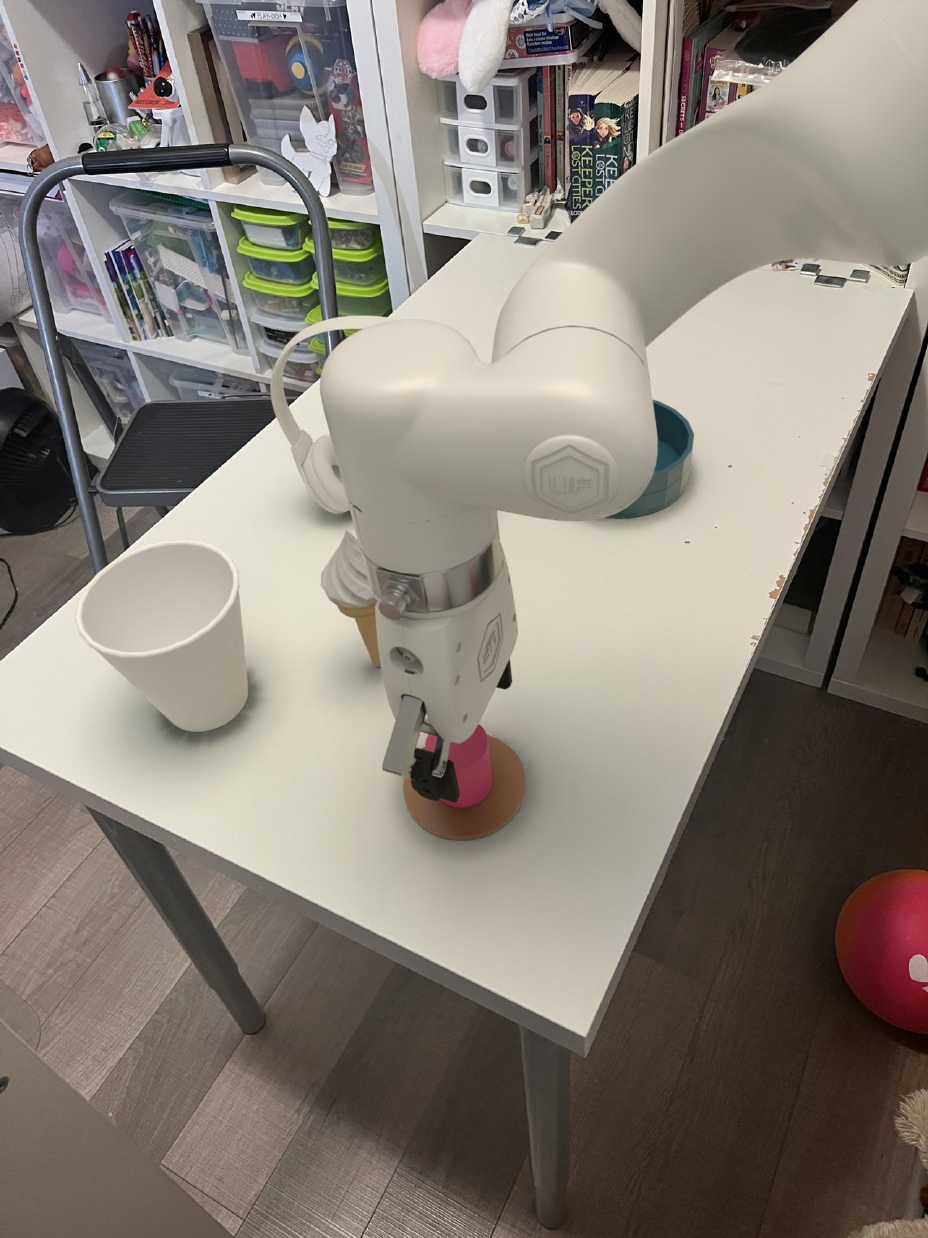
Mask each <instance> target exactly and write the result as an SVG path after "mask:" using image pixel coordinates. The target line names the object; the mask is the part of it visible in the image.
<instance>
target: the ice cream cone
mask: <svg viewBox="0 0 928 1238" xmlns="http://www.w3.org/2000/svg"><path fill="white" fill-rule="evenodd" d="M320 587H321V588H322V590H323V592H324V593H325V595H326V597H327V598H328V600H329V601H330V602H331V603H333V604H334V605H336V607H337V609H338V610H339V612H340V613H341V614H343V616H346V617H348V618H352V619H354V621H355V622H356V626H357V629H358V632H359V633H360V637H361V638H362V640H363V643H364V645H365V648H366V651H367V652H368V655H369V658H370V660H371V663H372V664H373V666H374V667H376V668H377V667H381V664H380V658H379V650H378V642H377V631H376V615H375V606H376V602H377V600H376V599H375V597H374V596H373V594H372V592H371V589H370V586H369V582H368V578H367V574H366V570H365V567H364V563H363V559H362V555H361V551H360V547H359V544H358V539H357V537H355V536H354V535H353V534H352V533H351V532H349V530H347V529H346V530H345V532H344V534H343V538H342V540H341V541H340V544H339V546H338V547H337V548H336V550H335V551H334V553H333V554H332V556H331V558H330V559H329V560H328V562H327V563H326V565H325V566H324V568H323V569H322V571H321V576H320Z"/></svg>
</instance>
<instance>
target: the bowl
mask: <svg viewBox="0 0 928 1238" xmlns="http://www.w3.org/2000/svg"><path fill="white" fill-rule="evenodd" d="M652 400H653V407H654V414H655V421H656V429H657V437H658V452H657V461H656V466H655V470H654V473H653V476H652V478H651V480H650V482H649V484H648V486H647V488H646V489H645V490H644V492H643V493H642V494H641V495H640V497H639V498H638V499H637V500H636V501H634V502H633V503H632V504H631V505H630V506H628V507H627V508H625V509H623V510H622V511H620V512H618V513H616V514H613V515H611V516H608V517H605V518H606V519H629V518H630V519H631V518H638V517H642V516H647V515H650V514H651V515H652V514H654V513H657V512H659V511H661V510H663V509H665V508H667V507H668V506H670V505H672V504H673V503H674V502H675V501H677V500H678V499H679V498H680V497H681V496H682V494H683V493H684V491H685V490H686V488H687V486H688V483H689V479H690V474H691V473H690V472H691V466H692V465H691V463H692V457H693V451H694V449H693V448H694V440H695V433H694V430H693V428H692V426H691V424H690V422H689V420H688V419H687V418H686V417H685V416H683V414H681V413H680V412H679V411H678V410H677V409H676V408H673V407H672V406H669V405H668V404H665V403H663V402H662V401H660V400H656V399H652ZM605 518H604V519H605Z"/></svg>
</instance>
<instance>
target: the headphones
mask: <svg viewBox="0 0 928 1238" xmlns="http://www.w3.org/2000/svg"><path fill="white" fill-rule="evenodd" d="M394 320H398V319H397V318H393V317H386V316H379V315H378V316H377V315H347V316H337V317H333V318H328V319H325V320H321V321H319V322H318V321H317V322H316V323H314V324H311V325H309V326H307V327H306V328H303V329H302V330H301V331H299V332H298V333H297V334H295V335H294V336H293V337H292V338H291V339H290V340H289V341H288V342H287V343H286V345H285V346H284V348H283V349H282V350H281V352H280V353H279V355H278V357H277V360H276V362H275V364H274V367H273V369H272V373H271V376H270V384H269V385H270V386H269V387H270V389H269V390H270V391H269V392H270V400H271V404H272V405H271V406H272V408H273V412H274V415H275V417H276V421H277V423H278V424H279V426H280V428H281V430H282V432H283V434H284V436H285V437H286V439H287V441H288V442H289V444H290V450H291V454H292V457H293V461H294V463H295V465H296V468H297V470H298V473H299V474H300V477H301V479H302V482H303V484H304V486H305V488H306V489H307V491H308V493H309V494H310V496H311V498H313V500H314V501H315V502H316V503H317V504H318V505H319V506H320V507H321V508H322V509H324V510H326V512H329V513H332V514H337V515H340V514H345V513H346V512H350V509H349V505H348V501H347V497H346V493H345V490H344V486H343V482H342V478H341V474H340V471H339V467H338V463H337V459H336V455H335V452H334V448H333V444H332V440H331V436H330V434H323V435H321V436H319V437H318V438H317V439H315V441H313V438H312V436H311V435H310V434H309V433H308V432H307V431H305V430H304V429H302V430H301V428H300V426H299V424H298V423H297V421H296V419H295V417H294V416H293V414H292V412H291V409H290V407H289V404H288V401H287V398H286V395H285V394H286V393H285V389H284V372H285V368H286V364H287V361H288V360H289V358H290V357H291V356H292V354H293V353H294V351H295V348H296V346H297V345H298V344H299V343H300V342H302V341H305V340H306V339H308V338H310V337H313V336H316V335H319V334H322V333H326V332H330V331H336V330H337V331H338V330H339V331H340V330H357V329H358V330H362V329H365V328H367V327H370V326H372V325H376V324H379V323H383V322H388V321H394Z"/></svg>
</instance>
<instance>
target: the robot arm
mask: <svg viewBox="0 0 928 1238" xmlns="http://www.w3.org/2000/svg"><path fill="white" fill-rule="evenodd" d="M926 257H928V0H857V1H856V2H855V3H854V4H853V5H852V6H851V7H850V8H849V9H848V10H847V11H845V12H844V14H843V15H842V16H840V17H839V18H838V19H837V20H836V21H835V22H834V23H833V24H832V25H831V26H830V27H829V28H827V30H825V32H824V33H822V34H821V35H820V36H819V37H818V38H817V39H816V40H815V41H814V42H813V43H812V44H811V45H810V46H808V47H807V48H806V49H805V50H804V51H803V52H802V53H801V54H799V56H798V57H797V58H795V59H794V60H793V61H792V62H791V63H790V64H788V65H787V66H786V67H785V68H784V69H783V70H781V71H780V72H779V73H778V74H777V75H776V76H775V77H772V79H770V80H769V81H768V82H766V83H764V84H763V85H761V86H760V87H759V88H756V89H755V90H753V91H752V92H749V93H747V94H746V95H743V96H742V97H740V98H738V99H735V100H734V101H732V102H730V103H728V104H727V105H726V106H724V107H722V108H720V109H719V110H717V111H716V112H715V113H713V114H712V115H710V116H708V117H707V118H705V119H704V120H702V121H701V122H699V123H697V124H696V125H694V126H693V127H691V128H689V129H688V130H686V131H685V132H683V133H681V134H680V135H678V136H676V137H674V138H673V139H671V140H669V141H668V142H666V143H665V144H663V145H661V146H659V147H657V149H655V150H653V151H652V152H651V153H649V154H648V155H646V156H645V157H643V159H641V160H639V161H638V162H637V163H635V164H634V165H633V166H632V167H630V168H629V169H628V170H627V171H626V172H624V173H623V174H621V176H620V177H618V178H617V179H616V180H615V181H614V182H612V184H610V185H609V186H608V187H607V188H606V189H605V190H604V191H603V192H602V193H601V194H600V195H599V196H598V197H597V198H596V199H594V201H593V202H592V203H590V204H589V205H588V206H587V207H586V208H585V209H584V210H583V211H582V212H581V213H580V214H579V215H578V217H576V218H575V219H574V220H573V221H572V223H571V224H570V225H568V226H567V228H565V230H564V231H562V232H561V234H560V235H558V237H557V238H555V239H554V240H553V242H551V244H550V245H549V246H547V248H546V249H545V250H544V251H542V253H541V254H540V255H539V256H538V257H537V258H536V259H535V260H534V261H533V262H532V264H530V266H528V268H527V269H526V270H525V272H523V274H522V275H521V277H519V280H518V281H517V282H516V283H515V285H514V286H513V288H512V289H511V291H510V292H509V294H508V296H507V298H506V300H505V302H504V304H503V305H502V307H501V309H500V311H499V312H500V313H499V315H498V319H497V321H496V325H495V330H494V337H493V345H492V352H491V361H490V363H485V362H483V361H482V360H481V359H480V358H479V355H478V353H477V351H476V350H475V348H474V346H473V344H472V343H471V342H470V341H469V340H468V339H467V338H466V337H465V336H464V334H462V333H461V332H459V331H458V330H457V329H455V328H453V327H451V326H449V325H446V324H444V323H440V322H437V321H432V320H429V319H420V318H419V319H417V318H405V319H397V320H394V321H388V322H383V323H379V324H376V325H372V326H370V327H367V328H365V329H359V330H357V331H356V332H354V333H352V334H351V335H348V336H347V337H346V338H345V339H343V340H342V341H341V342H340V343H339V344H338V345H337V346H335V347H334V349H333V350H332V351H330V353H329V355H328V356H327V358H326V359H325V361H324V364H323V366H322V369H321V373H320V377H319V394H320V398H321V405H322V409H323V413H324V417H325V421H326V424H327V428H328V433H329V435H330V436H331V440H332V444H333V448H334V452H335V455H336V459H337V463H338V467H339V471H340V474H341V478H342V482H343V486H344V490H345V493H346V497H347V501H348V505H349V509H350V511H349V512H350V516H351V520H352V524H353V528H354V531H355V535H356V539H357V540H358V544H359V547H360V551H361V555H362V559H363V563H364V567H365V570H366V574H367V578H368V582H369V586H370V589H371V592H372V594H373V596H374V597H375V599H376V600H377V602H376V606H375V615H376V631H377V642H378V650H379V658H380V664H381V665H380V669H381V675H382V681H383V686H384V690H385V694H386V697H387V698H386V699H387V702H388V705H389V709H390V711H391V713H392V716H393V718H394V720H395V723H394V726H393V729H392V732H391V735H390V737H389V738H390V739H389V742H388V745H387V748H386V751H385V754H384V757H383V760H382V766H381V769H382V771H383V772H385V773H388V774H390V775H394V776H397V777H401V778H403V779H404V778H407V779H410V781H411V785H412V788H413V789H414V790H415V791H417V793H418V794H419V795H421V796H422V797H424V798H427V799H430V800H433V801H438V800H439V799H444V800H447V801H450V802H457V800H458V798H459V796H460V792H459V786H458V782H457V777H456V772H455V767H454V763H453V762H452V761H451V760H449V759H448V755H449V749H450V743H451V742H453V743H458V744H460V743H462V742H464V741H465V740H467V739H468V738H469V737H470V736H471V735H472V734H473V732H474V731H475V729H476V727H477V726H478V724H479V723H480V721H481V720H482V717H483V716H484V713H485V711H486V710H487V707H488V705H489V703H490V701H491V699H492V697H493V695H494V694H495V691H496V688H497V689H501V690H507V689H510V687H511V685H512V683H513V674H512V665H511V656H512V654H513V651H514V649H515V645H516V643H517V639H518V636H519V635H518V633H519V628H518V618H517V609H516V604H515V597H514V592H513V585H512V580H511V575H510V570H509V568H510V567H509V566H508V561H507V558H506V554H505V551H504V548H503V545H502V542H501V537H500V528H499V519H498V517H499V516H498V511H499V512H505V513H510V514H516V515H519V516H525V517H531V518H537V519H542V520H549V521H557V522H558V521H559V522H587V521H595V520H600V519H601V520H602V519H605V517H608V516H611V515H613V514H616V513H618V512H620V511H622V510H623V509H625V508H627V507H628V506H630V505H631V504H632V503H633V502H634V501H636V500H637V499H638V498H639V497H640V495H641V494H642V493H643V492H644V490H645V489H646V488H647V486H648V484H649V482H650V480H651V478H652V476H653V473H654V470H655V466H656V461H657V452H658V437H657V429H656V421H655V414H654V407H653V400H654V399H653V394H652V386H651V385H652V384H651V377H650V376H651V375H650V370H649V364H648V363H649V362H648V355H647V347H648V346H649V345H651V344H652V343H653V342H654V341H655V340H656V339H657V338H658V337H659V336H661V335H662V334H663V333H665V331H666V330H667V329H669V328H670V327H671V326H672V325H674V323H676V322H677V321H678V320H680V319H681V318H682V317H683V316H684V315H686V314H687V313H688V312H689V311H690V310H692V309H693V308H694V307H695V306H696V305H698V304H699V303H701V302H702V301H703V300H705V299H706V298H707V297H709V295H711V294H713V293H714V292H715V291H717V290H718V289H720V288H722V287H723V286H725V285H726V284H728V283H729V282H731V281H733V280H735V279H737V278H739V277H741V276H743V275H745V274H746V273H749V272H752V271H755V270H757V269H760V268H762V267H764V266H767V265H772V264H776V263H779V262H783V261H791V260H804V259H807V260H808V259H810V260H812V259H813V260H823V261H833V262H841V263H842V262H843V263H851V264H857V265H867V266H872V267H873V266H874V267H876V266H877V267H886V268H887V267H888V268H891V267H901V266H906V265H909V264H913V263H916V262H918V261H920V260H922V259H924V258H926ZM479 725H480V724H479ZM421 733H423V734H426V735H428V734H430V735H434V736H437V739H436V745H435V751H434V752H431V751H427V750H424V749H422V748H420V747H417V746H418V741H419V738H420V735H421Z"/></svg>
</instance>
